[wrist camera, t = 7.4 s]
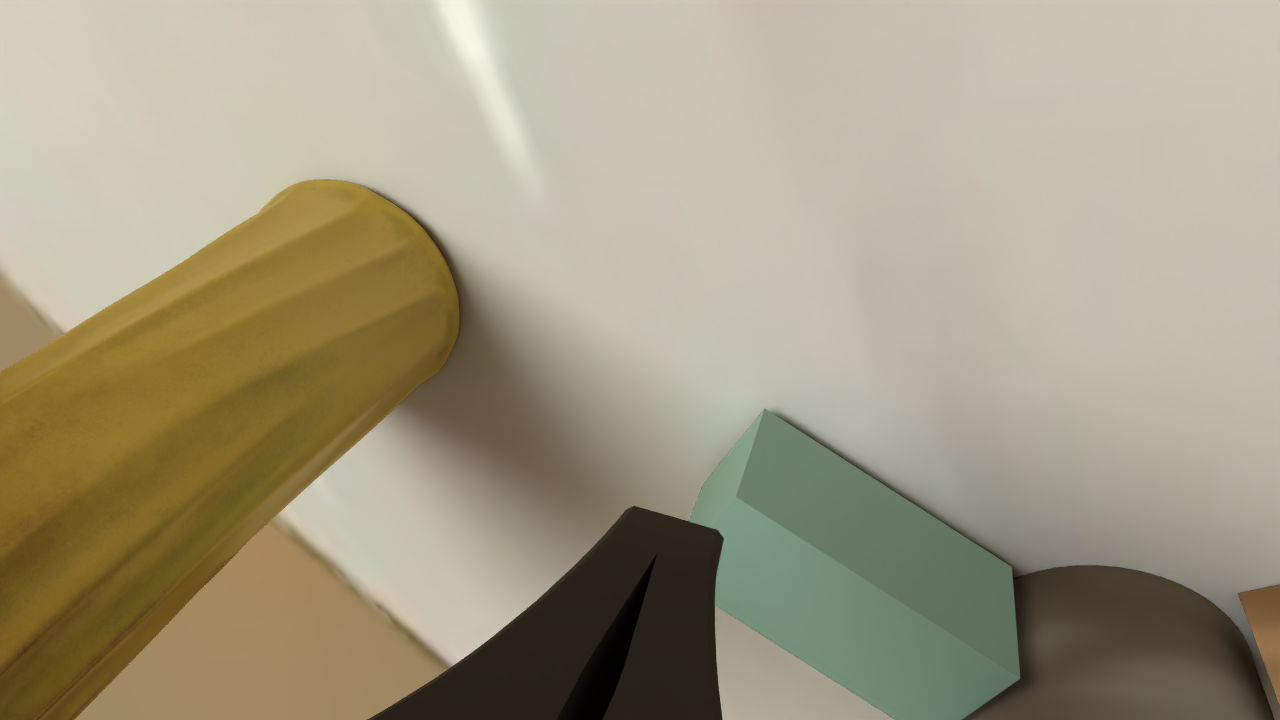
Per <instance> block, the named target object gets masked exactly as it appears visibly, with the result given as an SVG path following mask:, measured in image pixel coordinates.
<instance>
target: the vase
mask: <svg viewBox="0 0 1280 720" xmlns="http://www.w3.org/2000/svg"><path fill="white" fill-rule="evenodd" d="M459 324H460V309H459V299H458V294H457V290H456V286H455V283H454V280H453V277H452V275H451V272H450V270H449V267H448V265H447V263H446V261H445V259H444V257H443V256H442V254H441V252H440V250H439V249H438V247H437V246H436V245H435V243H434V242H433V241H432V239H431V238H430V237H429V235H428V234H427V233H426V231H425V230H424V229H423V228H422V227H421V226H420V225H419V224H418V223H417V222H416V221H415V220H414V219H413V218H412V217H411V216H409V215H408V214H407V213H406V212H404V211H403V210H402V209H400V208H399V207H398V206H396V205H395V204H393V203H391V202H390V201H388V200H386V199H385V198H383V197H381V196H380V195H378V194H376V193H374V192H372V191H371V190H369V189H367V188H365V187H362V186H359V185H357V184H354V183H349V182H345V181H339V180H329V179H328V180H309V181H303V182H300V183H297V184H294V185H292V186H290V187H288V188H286V189H285V190H283V191H282V192H280V193H279V194H277V195H276V196H275V197H274V198H273V199H271V200H270V201H269V202H268V203H267V204H266V205H265V206H264V207H263V208H262V209H261V211H260V212H259V213H258V214H256V215H254V216H253V217H251V218H249V219H248V220H246V221H244V222H243V223H241V224H240V225H238V226H236V227H235V228H233V229H232V230H230V231H228V232H227V233H225V234H224V235H222V236H221V237H219V238H218V239H216V240H215V241H213V242H212V243H210V244H209V245H207V246H206V247H204V248H203V249H201V250H200V251H198V252H197V253H195V254H194V255H192V256H191V257H190V258H188V259H186V260H185V261H183V262H182V263H180V264H179V265H177V266H175V267H174V268H172V269H170V270H169V271H167V272H165V273H164V274H162V275H160V276H159V277H157V278H155V279H154V280H152V281H150V282H149V283H147V284H145V285H144V286H142V287H140V288H139V289H137V290H135V291H134V292H132V293H130V294H129V295H127V296H125V297H124V298H122V299H120V300H118V301H117V302H115V303H113V304H112V305H110V306H108V307H107V308H105V309H103V310H102V311H100V312H98V313H97V314H95V315H94V316H92V317H90V318H89V319H87V320H86V321H84V322H82V323H81V324H79V325H78V326H76V327H74V328H73V329H71V330H70V331H68V332H66V333H65V334H63V335H62V336H60V337H59V338H57V339H55V340H54V341H52V342H50V343H49V344H48V345H46V346H44V347H42V348H41V349H39V350H38V351H36V352H34V353H32V354H31V355H29V356H27V357H25V358H24V359H22V360H20V361H19V362H17V363H15V364H13V365H12V366H10V367H8V368H6V369H5V370H3V371H1V372H0V720H74V719H75V718H76V717H77V716H78V715H79V714H80V713H81V712H82V711H83V710H84V709H85V708H86V707H87V706H88V705H89V704H90V703H91V702H92V701H93V700H94V699H95V698H96V697H97V696H98V695H99V694H100V693H101V692H102V691H103V690H104V689H105V688H106V687H107V686H108V685H109V684H110V683H111V682H112V681H113V680H114V679H115V678H116V676H118V675H119V673H120V672H121V671H122V670H123V669H124V668H125V667H126V666H127V665H128V664H129V663H130V662H131V661H132V660H133V659H134V658H135V657H136V656H137V655H138V654H139V653H140V652H141V651H142V650H143V649H144V648H145V647H146V646H147V645H148V643H149V642H151V640H152V639H153V638H154V637H155V636H156V635H157V634H158V633H159V632H160V631H161V630H162V629H163V628H164V627H165V626H166V625H167V624H168V623H169V622H170V621H171V620H172V619H173V618H174V617H175V616H176V615H177V614H178V613H179V611H180V610H181V609H182V608H183V607H184V606H185V605H186V604H187V603H188V602H189V601H190V600H191V599H192V598H193V597H194V596H195V594H196V593H197V592H198V591H199V590H200V589H202V588H203V587H204V585H206V584H207V583H208V582H209V581H210V580H211V579H212V578H213V577H214V576H215V575H216V574H217V573H218V572H219V571H220V570H221V569H222V568H223V567H224V566H225V565H226V564H227V563H228V562H229V561H230V560H231V559H232V558H233V557H234V556H235V554H237V553H238V551H239V550H240V549H241V548H242V547H243V546H244V545H245V544H246V543H247V542H248V541H249V540H250V539H251V538H252V537H253V536H254V535H256V534H257V533H258V532H259V531H260V530H261V529H262V528H263V527H264V526H265V525H266V524H267V523H268V522H269V521H271V520H272V519H273V518H274V517H275V516H276V515H277V514H278V513H279V512H280V511H281V510H282V509H284V508H285V507H286V506H287V505H288V504H289V503H290V502H291V501H292V500H293V499H294V498H296V497H297V496H298V495H299V494H300V493H301V492H302V491H303V490H304V489H305V488H306V487H308V486H309V485H310V484H311V483H312V482H313V481H314V480H315V479H317V478H318V477H319V476H320V475H321V474H322V473H323V472H324V471H326V470H327V469H328V468H329V467H330V466H331V465H332V464H334V463H335V462H336V461H337V460H338V459H339V458H340V457H341V456H343V455H344V454H345V453H346V452H347V451H348V450H349V449H351V448H352V447H353V446H354V445H355V444H356V443H357V442H358V441H360V440H361V439H362V438H363V437H364V436H365V435H366V434H367V433H368V432H369V431H371V430H372V429H373V428H374V427H375V426H376V425H377V424H378V423H379V422H380V421H382V420H383V419H384V418H385V417H386V416H387V415H388V414H389V413H390V412H391V411H392V410H393V409H395V408H396V407H397V406H398V405H399V404H400V403H401V402H402V401H403V400H404V399H405V398H406V397H407V396H408V395H409V394H410V393H411V392H412V391H413V390H415V389H416V388H417V387H418V386H419V385H420V384H421V383H423V382H424V381H426V380H428V379H429V378H431V377H432V376H434V375H435V374H436V373H437V372H438V371H439V370H440V369H441V368H442V367H443V366H444V364H445V362H446V361H447V359H448V357H449V355H450V353H451V351H452V349H453V347H454V344H455V341H456V339H457V336H458V332H459Z"/></svg>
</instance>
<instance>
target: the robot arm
mask: <svg viewBox="0 0 1280 720" xmlns="http://www.w3.org/2000/svg"><path fill="white" fill-rule="evenodd" d="M723 541H724V538H723V536H722V535H721V534H720V532H719V531H718V530H716V529H713V528H710V527H706V526H703V525H699V524H696V523H692V522H689V521H685V520H682V519H678V518H675V517H671V516H668V515H664V514H661V513H657V512H654V511H650V510H647V509H643V508H640V507H636V506H633V507H631V508H629V509H627V510H625V512H624V513H623V514H622V515H621V517H620V518H619V519H618V520H617V521H616V523H615V524H614V525H613V526H612V527H611V528H610V529H609V530H608V532H607V533H606V534H605V535H604V536H603V537H602V538H601V539H600V540H599V541H598V542H597V543H596V544H595V546H594V547H593V548H592V549H591V550H590V551H589V552H588V553H587V554H586V555H585V556H584V557H583V558H582V559H581V560H580V561H579V562H578V563H577V564H576V565H575V566H574V567H573V568H571V569H570V570H569V571H568V572H567V573H566V574H565V575H564V576H563V577H562V578H561V579H560V580H559V581H557V582H556V583H555V584H554V585H553V586H552V587H551V588H550V589H549V590H548V591H547V592H546V593H545V594H544V595H542V596H541V597H540V598H539V599H538V600H537V601H536V602H534V603H533V604H532V605H531V606H530V607H528V608H527V609H526V610H525V611H524V612H522V613H521V614H520V615H519V616H518V617H516V618H515V619H514V620H513V621H511V622H510V623H509V624H508V625H507V626H505V627H504V628H503V629H502V630H500V631H499V632H498V633H497V634H496V635H494V636H493V637H492V638H491V639H489V640H488V641H487V642H485V643H484V644H483V645H481V646H480V647H479V648H477V649H476V650H475V651H473V652H472V653H471V654H469V655H468V656H466V657H465V658H464V659H462V660H461V661H459V662H458V663H457V664H455V665H454V666H452V667H451V668H449V669H448V670H446V671H445V672H443V673H442V674H441V675H439V676H438V677H436V678H435V679H433V680H432V681H430V682H429V683H427V684H425V685H424V686H422V687H421V688H419V689H417V690H416V691H414V692H413V693H411V694H410V695H408V696H406V697H405V698H403V699H401V700H400V701H398V702H397V703H395V704H393V705H392V706H390V707H388V708H387V709H385V710H383V711H382V712H380V713H378V714H377V715H375V716H373V717H371V718H370V719H368V720H722V712H721V704H720V695H719V686H718V675H717V663H716V642H715V587H716V575H717V570H718V565H719V560H720V556H721V551H722V546H723Z"/></svg>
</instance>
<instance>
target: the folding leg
mask: <svg viewBox="0 0 1280 720" xmlns="http://www.w3.org/2000/svg"><path fill="white" fill-rule="evenodd" d="M689 522H692V523H696V524H699V525H703V526H706V527H710V528H713V529H716V530H718V531H719V532H720V534H721V535H722V536H723V538H724V541H723V546H722V551H721V556H720V560H719V565H718V570H717V575H716V587H715V606H717V607H718V608H720V609H722V610H723V611H725V612H726V613H728V614H729V615H731V616H733V617H734V618H736V619H737V620H739V621H740V622H742V623H744V624H745V625H747V626H748V627H750V628H752V629H753V630H755V631H756V632H758V633H759V634H761V635H763V636H764V637H766V638H767V639H769V640H770V641H772V642H774V643H775V644H777V645H778V646H780V647H781V648H783V649H785V650H786V651H788V652H789V653H791V654H793V655H794V656H796V657H797V658H799V659H800V660H802V661H804V662H805V663H807V664H808V665H810V666H811V667H813V668H815V669H816V670H818V671H819V672H821V673H822V674H824V675H826V676H827V677H829V678H830V679H832V680H833V681H835V682H837V683H838V684H840V685H841V686H843V687H845V688H846V689H848V690H849V691H851V692H852V693H854V694H856V695H857V696H859V697H860V698H862V699H863V700H865V701H867V702H868V703H870V704H871V705H873V706H874V707H876V708H878V709H879V710H881V711H882V712H884V713H886V714H887V715H889V716H890V717H892V718H893V719H895V720H962V719H963V718H965V717H966V716H968V715H969V714H971V713H972V712H973V711H975V710H976V709H978V708H979V707H981V706H982V705H983V704H985V703H986V702H988V701H989V700H991V699H992V698H993V697H995V696H996V695H998V694H999V693H1001V692H1002V691H1003V690H1005V689H1006V688H1008V687H1009V686H1011V685H1012V684H1013V683H1015V682H1016V681H1018V680H1019V679H1020V667H1019V654H1018V641H1017V628H1016V615H1015V602H1014V589H1013V576H1012V567H1011V566H1009V565H1008V564H1006V563H1005V562H1003V561H1002V560H1000V559H998V558H997V557H995V556H994V555H992V554H991V553H989V552H988V551H986V550H984V549H983V548H981V547H980V546H978V545H977V544H975V543H974V542H972V541H970V540H969V539H967V538H966V537H964V536H963V535H961V534H960V533H958V532H956V531H955V530H953V529H952V528H950V527H949V526H947V525H945V524H944V523H942V522H941V521H939V520H938V519H936V518H935V517H933V516H931V515H930V514H928V513H927V512H925V511H924V510H922V509H921V508H919V507H917V506H916V505H914V504H913V503H911V502H910V501H908V500H907V499H905V498H903V497H902V496H900V495H899V494H897V493H896V492H894V491H892V490H891V489H889V488H888V487H886V486H885V485H883V484H882V483H880V482H878V481H877V480H875V479H874V478H872V477H871V476H869V475H868V474H866V473H864V472H863V471H861V470H860V469H858V468H857V467H855V466H854V465H852V464H850V463H849V462H847V461H846V460H844V459H843V458H841V457H839V456H838V455H836V454H835V453H833V452H832V451H830V450H829V449H827V448H825V447H824V446H822V445H821V444H819V443H818V442H816V441H815V440H813V439H811V438H810V437H808V436H807V435H805V434H804V433H802V432H801V431H799V430H797V429H796V428H794V427H793V426H791V425H790V424H788V423H786V422H785V421H783V420H782V419H780V418H779V417H777V416H776V415H774V414H772V413H771V412H769V411H768V410H766V409H764V410H763V411H762V413H761V414H760V415H759V416H758V417H757V419H756V420H755V421H754V422H753V424H752V425H751V426H750V427H749V428H748V430H747V431H746V432H745V433H744V435H743V436H742V437H741V438H740V440H739V441H738V442H737V443H736V444H735V446H734V447H733V448H732V449H731V451H730V452H729V453H728V454H727V456H726V457H725V458H724V459H723V460H722V462H721V463H720V464H719V465H718V467H717V468H716V469H715V470H714V472H713V473H712V474H711V475H710V476H709V478H708V479H707V480H706V481H705V483H704V484H703V486H702V489H701V491H700V494H699V497H698V499H697V502H696V504H695V507H694V510H693V512H692V515H691V517H690V520H689Z"/></svg>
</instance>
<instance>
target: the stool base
mask: <svg viewBox="0 0 1280 720" xmlns="http://www.w3.org/2000/svg"><path fill="white" fill-rule="evenodd" d="M1013 589H1014V602H1015V615H1016V628H1017V641H1018V654H1019V667H1020V679H1019V680H1018V681H1016V682H1015V683H1013V684H1012V685H1011V686H1009V687H1008V688H1006V689H1005V690H1003V691H1002V692H1001V693H999V694H998V695H996V696H995V697H993V698H992V699H991V700H989V701H988V702H986V703H985V704H983V705H982V706H981V707H979V708H978V709H976V710H975V711H973V712H972V713H971V714H969V715H968V716H966V717H965V718H963V719H962V720H1275V719H1274V717H1273V714H1272V711H1271V708H1270V705H1269V703H1268V700H1267V697H1266V694H1265V691H1264V689H1263V686H1262V683H1261V680H1260V678H1259V675H1258V672H1257V669H1256V666H1255V664H1254V661H1253V658H1252V655H1251V653H1250V650H1249V647H1248V645H1247V642H1246V640H1245V639H1244V637H1243V636H1242V634H1241V632H1240V631H1239V629H1238V628H1237V627H1236V625H1235V624H1234V623H1233V622H1232V621H1231V620H1230V618H1229V617H1228V616H1227V615H1226V614H1225V613H1223V612H1222V611H1221V610H1220V609H1219V608H1218V607H1217V606H1215V605H1214V604H1213V603H1211V602H1210V601H1208V600H1207V599H1205V598H1204V597H1202V596H1201V595H1199V594H1198V593H1196V592H1194V591H1192V590H1190V589H1188V588H1186V587H1184V586H1182V585H1180V584H1178V583H1175V582H1173V581H1170V580H1167V579H1165V578H1162V577H1159V576H1156V575H1152V574H1148V573H1145V572H1141V571H1136V570H1131V569H1125V568H1119V567H1108V566H1069V567H1058V568H1052V569H1047V570H1042V571H1037V572H1034V573H1030V574H1027V575H1024V576H1021V577H1018V578H1016V579H1013ZM1238 594H1239V597H1240V600H1241V602H1242V605H1243V608H1244V611H1245V613H1246V616H1247V619H1248V621H1249V624H1250V627H1251V629H1252V632H1253V635H1254V638H1255V640H1256V643H1257V646H1258V648H1259V651H1260V654H1261V656H1262V659H1263V662H1264V665H1265V667H1266V670H1267V673H1268V675H1269V678H1270V681H1271V684H1272V686H1273V689H1274V692H1275V694H1276V697H1277V700H1278V702H1279V705H1280V585H1276V586H1271V587H1267V588H1262V589H1257V590H1252V591H1248V592H1243V593H1238Z"/></svg>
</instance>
